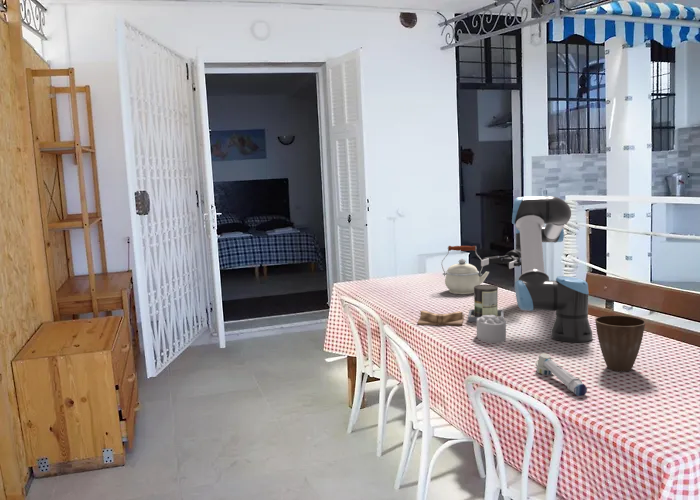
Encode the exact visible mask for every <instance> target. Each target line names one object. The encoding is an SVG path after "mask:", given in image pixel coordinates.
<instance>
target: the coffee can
mask: <svg viewBox="0 0 700 500" xmlns="http://www.w3.org/2000/svg"><path fill="white" fill-rule="evenodd" d="M498 289H499V287H498V286H497V285H494V284H480V285H477V286H474V293H473V295H474V296H473V301H474V302H473V303H474V304H473V305H474V306H473V307H474V314H473V317H481V316H483V315H495V316H497V317H499V315H498V310H499V309H498V298H499V297H498V295H499V293H498Z"/></svg>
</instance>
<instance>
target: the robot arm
mask: <svg viewBox="0 0 700 500" xmlns="http://www.w3.org/2000/svg"><path fill="white" fill-rule="evenodd" d="M571 217H572V211H571V207H570V205H569V204H568V203H567V202H566V201H565V200H563V199H562V198H559V197H557V196H552V195H547V196H518V197H516V198H514V200H513V208H512V216H511V218H512V219H511V223H512V224H513V225H514V226H515V249H512V250H510V251H507V252H506V253H505V255H495V256H487V257H482V260H481V259H480V267H482V266H483V267H485V266H489V264H501V265H504V264H505V265H507V266H508V269H509V270H511V269H513V268H516V267H520V266H521V274H520V275H519V277H518V280H515V283H514V289H515V291H514V292H515V299H516V303H517V306H518V308H519V309H520V310H521V311H530V312H533V311H534V312H535V311H540V312H541V311H542V312H547V311H548V312H553V311H554V312H555V318H554V321H553V324H552V327H551V329H550V337H551V339H554V340H557V341H560V342H564V343H565V342H567V343H584V342H589V341H592V340H593V330H592V327H591V323H590V321H589V295H590V293H589V284H588V282H587V281H586V280H584V279H581V278H578V277H572V276H565V275H564V276H563V275H562V276H561V275H560V276H556V278H555V280H550V277H549V275H548V274H547V273H546V272H545V262H544V261H545V260H544V250H543V243H554V244H555V243H561V242H563V241H564V237H565V232H564V226H565V225H566V224H568V223H569V221H570V219H571Z"/></svg>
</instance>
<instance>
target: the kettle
mask: <svg viewBox="0 0 700 500" xmlns="http://www.w3.org/2000/svg"><path fill="white" fill-rule="evenodd" d="M451 251H457V252H458V251H460V252H462V251H475V255H476V256H477V258H479V259H480V261H481V260H483V258H481V257H480V255H478V252H477V245H472V246H471V245H455V246H454V245H453V246H451V245H448V246H447V254H446V255H445V256H444V257H443V259H442V260H441V263H443V262H444V260H445V258H447V256H448V255H449V253H450V252H451ZM441 267H442V271H443V273H442V275H444V277H445V279H444V284H445V286H446V288H447V289H448V292H449V293H450V294H454V295H472V294H474V286H477V285H482V283H483V282H485V280H486V278H487V277H488V276H489V274H490V271H485V272H484V273H481V272H482V270H483V267H484V266H481V270H480V271H479V270H478V269H477V267H476V266H475V265H473V264H471V263H467V262H466V260H465V259H464V258H460V259H459V260H458V263H454V264H452V265H450V266H449V267H448V268H447V270H446V271H445V269H444V266H443V265H441Z"/></svg>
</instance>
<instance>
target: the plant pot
mask: <svg viewBox="0 0 700 500" xmlns="http://www.w3.org/2000/svg"><path fill="white" fill-rule="evenodd" d="M594 321H595V328H596V334H597V339H598V343H599V347H600V352H601V354H602V357H603V360H604V362H605V365H606V367H607V369H608V370H611V371H615V372H630V371H631V370H632V369H633V367H634V364H635V362H636V360H637V358H638V355H639V351H640V348H641V345H642V342H643V338H644V334H645V333H644V332H645V326H646V321H645V320H644V319H642V318H639V317H635V316H628V315H602V316H598V317H596V318H595V319H594Z"/></svg>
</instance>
